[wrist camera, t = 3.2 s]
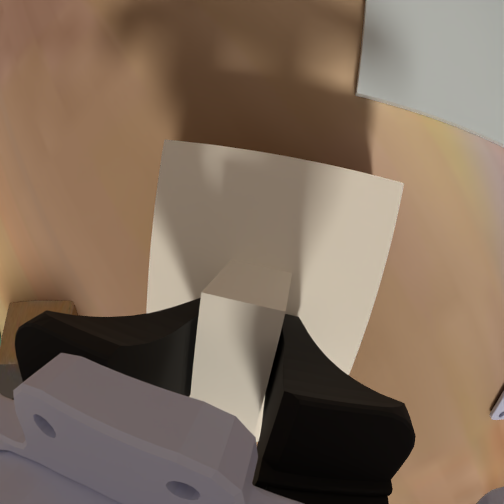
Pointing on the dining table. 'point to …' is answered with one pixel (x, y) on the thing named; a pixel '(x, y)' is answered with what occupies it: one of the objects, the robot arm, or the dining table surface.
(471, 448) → the dining table surface
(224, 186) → the lid
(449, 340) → the dining table surface
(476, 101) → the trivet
